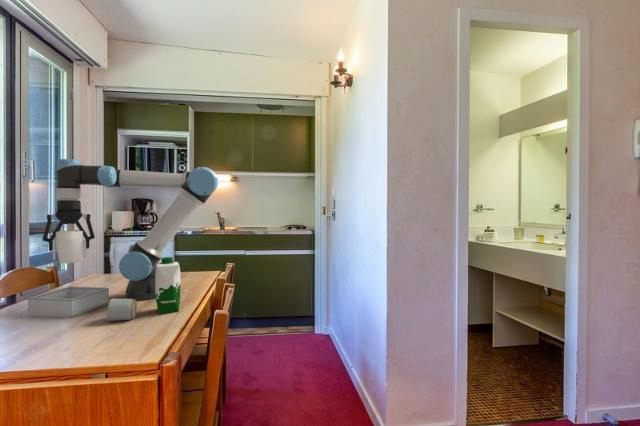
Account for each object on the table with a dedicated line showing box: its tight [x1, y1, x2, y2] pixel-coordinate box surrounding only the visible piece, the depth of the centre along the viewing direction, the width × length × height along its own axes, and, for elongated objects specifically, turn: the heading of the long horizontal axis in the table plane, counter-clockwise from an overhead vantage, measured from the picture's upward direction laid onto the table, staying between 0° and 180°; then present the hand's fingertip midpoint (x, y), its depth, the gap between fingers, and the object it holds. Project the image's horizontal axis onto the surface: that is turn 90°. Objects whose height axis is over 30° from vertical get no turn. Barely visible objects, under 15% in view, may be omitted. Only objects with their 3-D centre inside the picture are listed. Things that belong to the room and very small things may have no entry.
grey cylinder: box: [106, 298, 138, 322], centre depth 125 cm, size 11×8×8 cm
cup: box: [54, 229, 85, 264], centre depth 135 cm, size 9×9×12 cm
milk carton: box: [155, 256, 181, 315], centre depth 134 cm, size 9×9×20 cm
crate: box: [27, 286, 110, 319], centre depth 136 cm, size 18×18×7 cm
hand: (69, 258), depth 135 cm, fingers closed on cup, 9 cm apart
